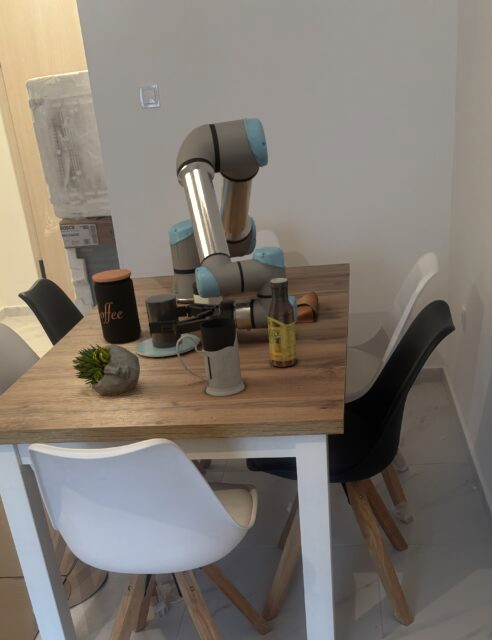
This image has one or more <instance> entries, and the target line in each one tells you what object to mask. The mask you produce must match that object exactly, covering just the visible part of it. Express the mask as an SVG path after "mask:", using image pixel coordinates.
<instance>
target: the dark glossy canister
mask: <svg viewBox="0 0 492 640" xmlns="http://www.w3.org/2000/svg"><path fill="white" fill-rule="evenodd" d="M144 302H145V308H146V309H145V310H146V313H147V320H148V323H149V322H164V321H173V320H176V322H178V321H180V317H179V314H178V307H177V306H178V302H177V300H176V296H175V295H173V294H171V293H162V294H156V295H151V296H149V297H147V298H145V300H144ZM179 329H180V327H179ZM181 337H182V334H180V335H175V333H174V332H171V333H155V334H150V338H151V339H152V345H153V347H155V348H171V347H175V346H176V344H177V341H178V340H179V339H180V338H181ZM181 343H182V340H181V341H180V342H179V345H180V344H181Z"/></svg>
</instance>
